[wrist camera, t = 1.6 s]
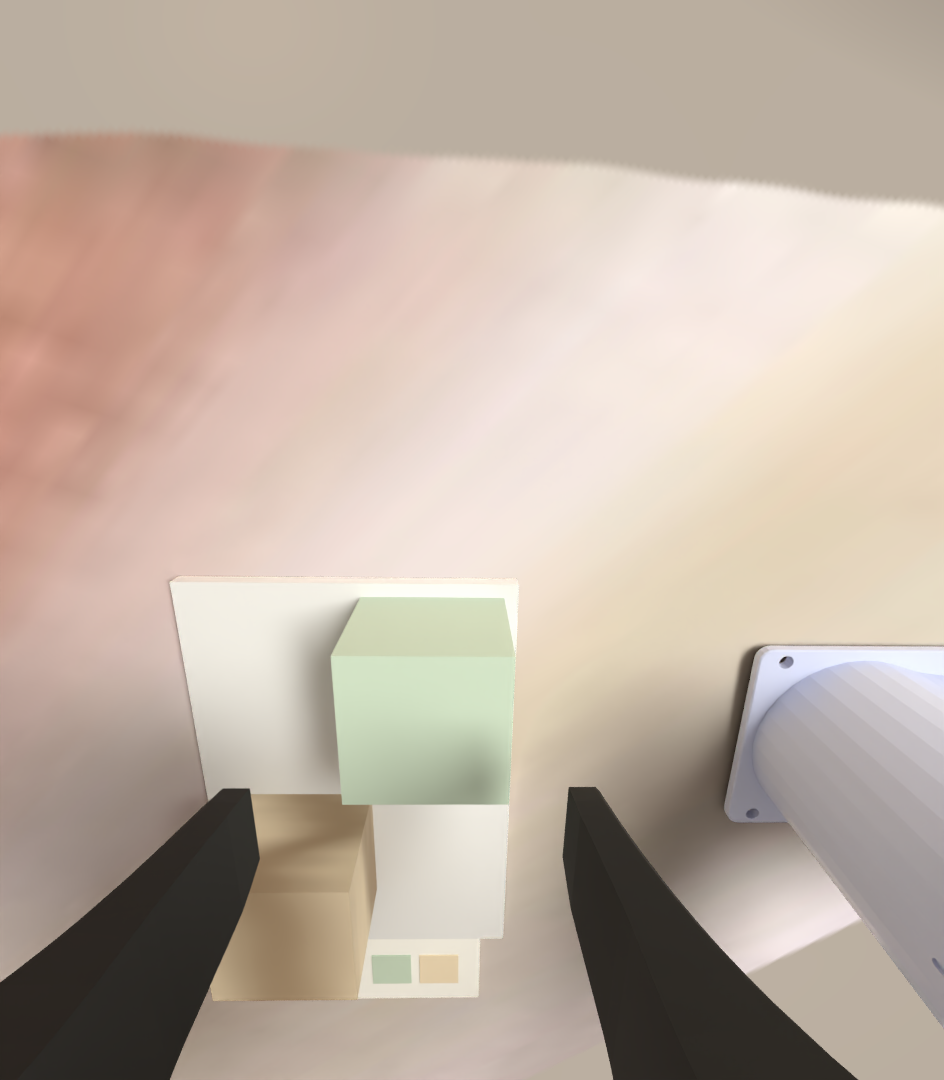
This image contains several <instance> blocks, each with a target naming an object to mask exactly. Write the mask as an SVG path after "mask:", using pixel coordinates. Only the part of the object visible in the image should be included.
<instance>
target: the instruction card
mask: <svg viewBox="0 0 944 1080" xmlns="http://www.w3.org/2000/svg"><path fill="white" fill-rule="evenodd" d="M479 969H480V939H368V942H367V948H366V954H365V959H364V965H363V971H362V976H361V982H360V988H359V993H358V998H466V997H479Z"/></svg>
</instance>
